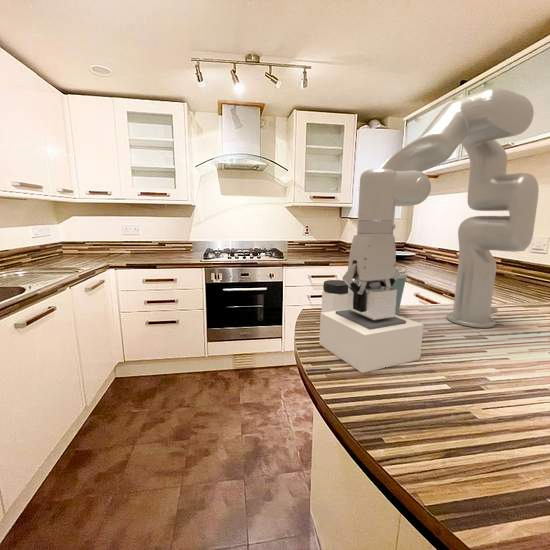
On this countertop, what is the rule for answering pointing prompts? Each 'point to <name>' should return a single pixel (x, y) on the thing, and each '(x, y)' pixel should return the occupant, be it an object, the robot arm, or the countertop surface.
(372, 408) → the countertop surface
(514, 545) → the countertop surface
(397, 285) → the disposable coffee cup
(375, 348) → the stand
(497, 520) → the countertop surface
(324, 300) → the jar
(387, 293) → the housing
